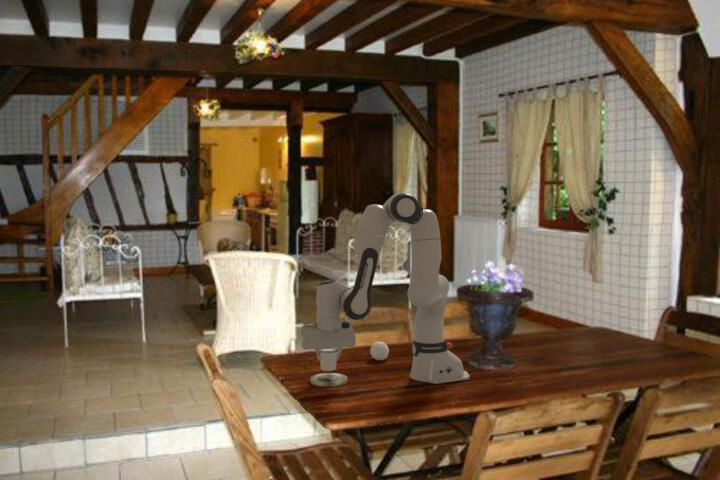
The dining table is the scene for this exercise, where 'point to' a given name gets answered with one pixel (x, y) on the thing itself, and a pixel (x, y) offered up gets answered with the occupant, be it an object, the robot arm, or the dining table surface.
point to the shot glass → (328, 359)
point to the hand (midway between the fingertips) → (328, 359)
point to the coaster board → (328, 380)
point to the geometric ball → (379, 351)
